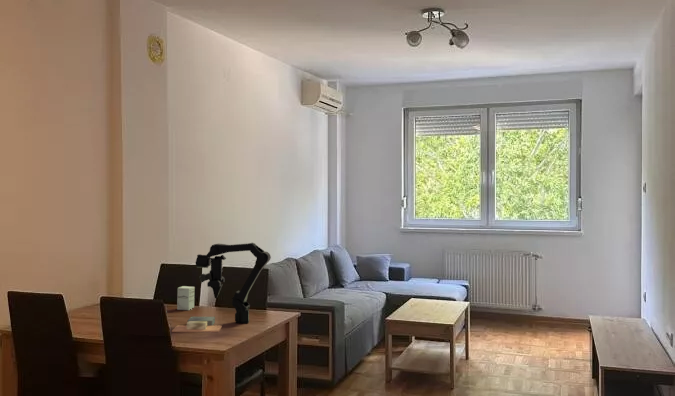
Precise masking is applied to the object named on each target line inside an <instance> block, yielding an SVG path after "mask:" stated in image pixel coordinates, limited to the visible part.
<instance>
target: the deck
mask: <svg viewBox="0 0 675 396" xmlns="http://www.w3.org/2000/svg"><path fill="white" fill-rule="evenodd" d="M188 321H207V325H212V326H214V324H215V323H216V317H215V316H191V317H190V316H189V318H188V320H187V322H188ZM187 322H186V323H187Z"/></svg>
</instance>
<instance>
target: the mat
mask: <svg viewBox="0 0 675 396" xmlns="http://www.w3.org/2000/svg"><path fill="white" fill-rule="evenodd" d="M222 327H223V325H213V326H212V325H207V328H206V329H187V324H186V325H182V324H180V325H176V326H175V327H174V328H173V329H172V330H171V332H172V333H219V332H220V331H221V329H222Z"/></svg>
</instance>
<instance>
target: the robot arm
mask: <svg viewBox="0 0 675 396" xmlns="http://www.w3.org/2000/svg"><path fill="white" fill-rule="evenodd" d="M235 252H238V253H239V252H250V253H251V254H252V255H253V256H254V257H255V258H256V260H255V262H254V267H253V269H252V270H251V272H250V274H249V276H248V277H247V279H246V281H245V283H244V284H243V286H242V288H241V289H240V290H237V291H235V293H234V295H233V296H232V298H231V300H232V301H231V305H232V306H233V307H234V309H235V313H234V322H235V324H249V322H250V307H251V304H250V303H249V302H248V301H247V300H248V297H249V293H250V291H251V289H252V287H253V286H254V284H255V282H256V280H257V279H258V277H259V275H260V273H261V271H262V270H263V269H264V268H265V267H266V266H267V264H268V263H269V262H270V260H271V259H272V256H271V254H270V253H269V252H268V251H265V250H264V249H262V248H261V247H259V246H258V245H257V244H256V243H254V242H249V243H237V244H236V243H235V244H226V243H215V244H212V245H211V246H210V247H209V251H208V253H207V254H199V253H198V254H197V255H196V260H195V267H196V268H197V269H200V268H203V269H204V268H206V269H208V268H209V267H210V270H209V272H208V273H201V274H200V276H199V281H200V283H204V282H206V281H208V280H209V281H208V282H207V288H208V287H209V288H211V289H212V291H213V295H214V296H213V297H214V299H218V296H219V295H220V291H221V290H222V287H223V285H224V284H223V283H225V277H224V276H223V261H225V260H226V259H227V257H226V256H225V255H224V254H226V253H235Z"/></svg>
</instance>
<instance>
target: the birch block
mask: <svg viewBox="0 0 675 396" xmlns="http://www.w3.org/2000/svg"><path fill="white" fill-rule="evenodd" d="M187 321H188V320H187ZM186 325H187V329H206V328H207V321H188V322H186Z"/></svg>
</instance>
